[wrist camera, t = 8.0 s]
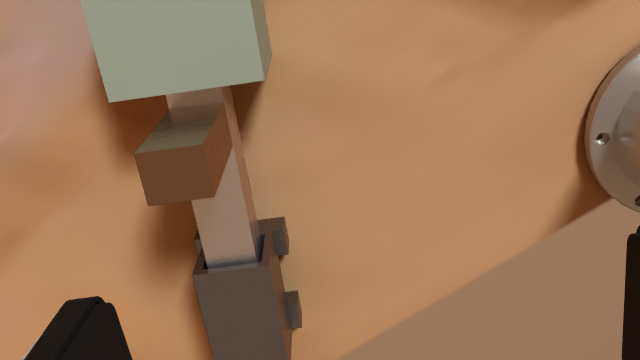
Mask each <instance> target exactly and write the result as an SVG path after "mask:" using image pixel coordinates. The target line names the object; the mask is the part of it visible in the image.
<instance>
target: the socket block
mask: <svg viewBox="0 0 640 360" xmlns="http://www.w3.org/2000/svg"><path fill="white" fill-rule="evenodd" d="M80 2H81V6H82V9H83V13H84V16H85V20H86V23H87V27H88V30H89V34H90V37H91V41H92V44H93V48H94V51H95V55H96V59H97V62H98V66H99V69H100V73H101V76H102V80H103V83H104V87H105V90H106V94H107V97H108V101H109V103H110V102H117V101H124V100H131V99H138V98H145V97H152V96H159V95H166V94H173V93H180V92H187V91H194V90H201V89H208V88H215V87H222V86H229V85H237V84H244V83H251V82H258V81H264V80H265V77H266V74H267V70H268V67H269V63H270V60H271V56H272V52H271V46H270V40H269V34H268V29H267V23H266V17H265V11H264V5H263V0H80Z"/></svg>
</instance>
